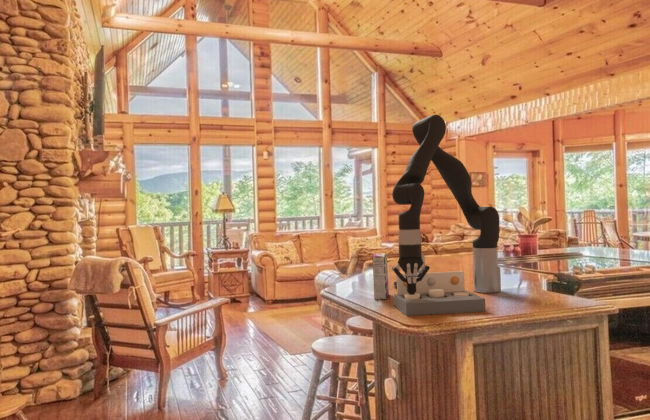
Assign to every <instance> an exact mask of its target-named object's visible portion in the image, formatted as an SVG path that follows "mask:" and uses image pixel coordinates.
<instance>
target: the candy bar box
mask: <svg viewBox="0 0 650 420" xmlns="http://www.w3.org/2000/svg"><path fill="white" fill-rule="evenodd" d="M388 271H389V270H388V254H387V252H382V253H381V252H377V253H374V254H373V256H372V273H373V274H372V275H373V277H372V279H373V291H374V292H373V293H374V295H373V297H374V300H377V299H385V300H388V297H389V295H390V292H389V290H390V289H389V275H388V274H389V273H388Z"/></svg>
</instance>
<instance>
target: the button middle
mask: <svg viewBox="0 0 650 420" xmlns="http://www.w3.org/2000/svg"><path fill="white" fill-rule="evenodd" d="M429 297H430V298H442V297H444V290H443V289H430V290H429Z"/></svg>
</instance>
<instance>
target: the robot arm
mask: <svg viewBox="0 0 650 420" xmlns="http://www.w3.org/2000/svg"><path fill="white" fill-rule="evenodd" d="M411 129H412V131H411V132H412V133H413V134H412V135H413V137H414V139H415V140H416V142H417V144H418V145H419V146H418V148H417V149H416V150H415V151H414V153H413V154H412V156H411V157H410V158H409V160H408V163H407V165H406V168H405V171H404V173H403V174H402V175H401V177H400V178H399V179H398V181H397V182H396V183H395V185H394V187H393V190H392V199H393V202H394V203H395V204H396V205H410V207H409V209H408V210H406V211H405V210H404V211H402V212H400V213H399V214H398V236H397V237H398V261H397V264H395V266H392V268H391V270H392V271H393V272H394V273H395V275H396V277H397V276H398V277H399V278H400V279H401V281H403V282H406V283H407V292H408V293H409V294H410V295H414V294H415V293H416V283H417V282H419V281H421V280H422V279H423V277H424V276H425V274H426V273H429V270H430V266H428V265H426V263H425V264H424V263H423V260H422V253H423V251H422V240H423V239H422V233H421V221H420V220H421V212H422V209H423V208H422V207H423V203H424V199H425V190H424V189H425V188H424V187H423V185H422V183H424V180H425V177H426V174H427V172H428V169H429V166H430V163H431V161H432V164H433V165H434V167H435V168H436V169H437V171H438V173H439V174H440V176H441V179H442V180H443V181H444V183H445V185H446V186H447V188H448V189H449V190H450V192H451V193H452V195H453V197H454V199H455V200H456V201H457V204H458V205H459V207H460V209H461V211H462V214H463V215H464V218H465V220H466V221H467V224H468V225H469V226H470V227H471V228H472V229H474V230H476V231H477V230H478V231H480V233H479V236H478V237H477V238H475V239H474V240H472V261H473V262H472V263H473V291H474V292H477V293H483V294H484V293H485V294H489V293H498V292H502V283H501V282H502V281H501V279H502V278H501V267H500V266H499V263H498V262H499V257H498V253H499V252H498V242H499V239H500V216H499V215H500V214H499V212H498V210H497V209H496V208H495V207H493V206H480V205H479V204H478V202H477V201H476V199H475V198H474V196H473V193H472V187H473V186H472V177H471V174H470V173H469V171H468V170H467V167H466V166H465V165H464V163H463V162H462V161H461V160H459V159H458V158H457V157H455V156H453V155H452V154H450V153H449V152H446V151H445V150H444V149H442V148H441V147H440V146H439V145H440V144H441V142H442V141H443V139H444V136H445V135H446V132H447V124H446V122H445V119H444V118H443V117H442V116H441V115H439V114H432V115H429V116H425V117H423V118H422V119H420V120H418V121H416V122H414V123H413V124H412V128H411ZM421 266H422V267H421ZM420 268H421V269H422V270H421V271H420V273H419V274H418V276H417V272H418V271H419V269H420ZM401 270H402V271H403V272H404V274H405V276H406V278H404V276H403V275H402V274H403V273H401Z"/></svg>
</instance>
